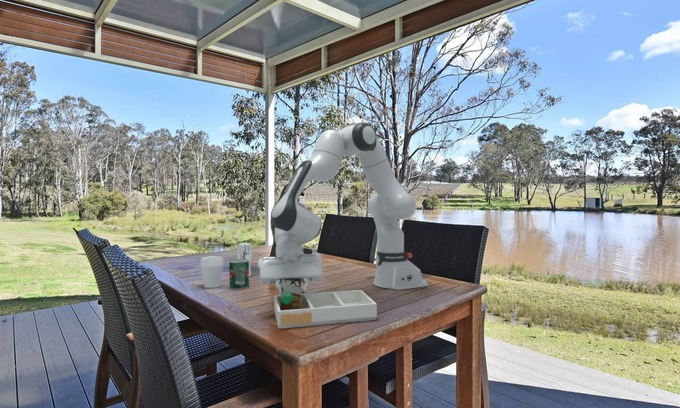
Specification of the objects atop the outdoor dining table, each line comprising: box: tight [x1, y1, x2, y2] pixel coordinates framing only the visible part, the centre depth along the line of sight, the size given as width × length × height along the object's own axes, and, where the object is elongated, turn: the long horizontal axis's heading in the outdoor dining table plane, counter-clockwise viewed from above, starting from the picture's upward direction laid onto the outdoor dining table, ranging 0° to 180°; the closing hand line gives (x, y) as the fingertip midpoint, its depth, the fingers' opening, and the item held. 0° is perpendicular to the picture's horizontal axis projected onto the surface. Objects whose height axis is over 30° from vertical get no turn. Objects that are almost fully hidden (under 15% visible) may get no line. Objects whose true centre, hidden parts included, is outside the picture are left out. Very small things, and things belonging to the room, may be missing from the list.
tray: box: [273, 289, 378, 330], centre depth 121 cm, size 30×17×5 cm, turn 104°
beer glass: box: [236, 242, 253, 278], centre depth 176 cm, size 7×7×15 cm
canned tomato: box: [228, 259, 250, 290], centre depth 156 cm, size 8×8×11 cm
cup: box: [200, 255, 224, 289], centre depth 157 cm, size 9×9×12 cm
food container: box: [280, 277, 303, 311], centre depth 119 cm, size 12×6×10 cm, turn 10°
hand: (292, 293), depth 118 cm, fingers closed on food container, 5 cm apart
